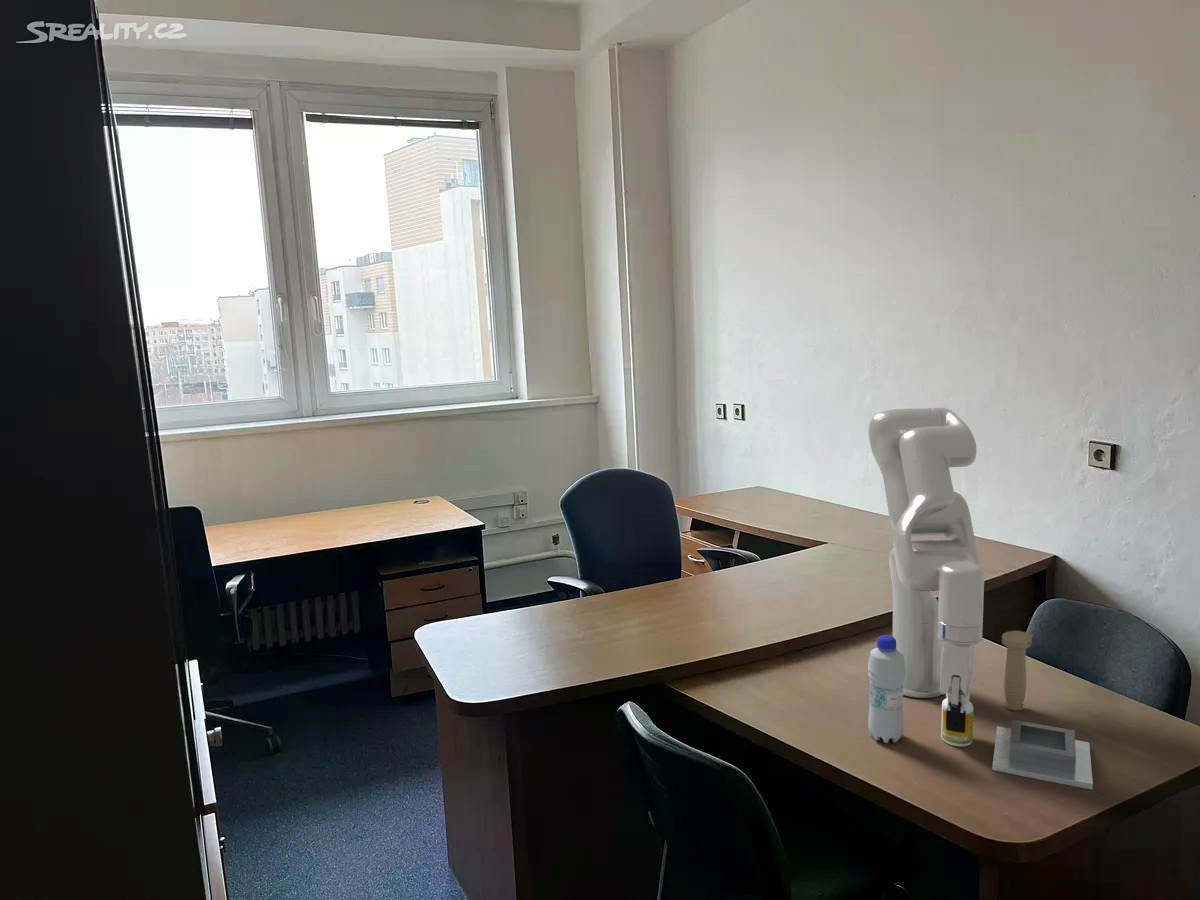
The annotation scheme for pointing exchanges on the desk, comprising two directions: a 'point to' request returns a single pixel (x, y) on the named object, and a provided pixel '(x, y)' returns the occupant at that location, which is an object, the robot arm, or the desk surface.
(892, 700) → the bottle
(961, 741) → the supplement bottle
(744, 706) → the desk surface
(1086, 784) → the socket
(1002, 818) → the desk surface
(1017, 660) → the handle
